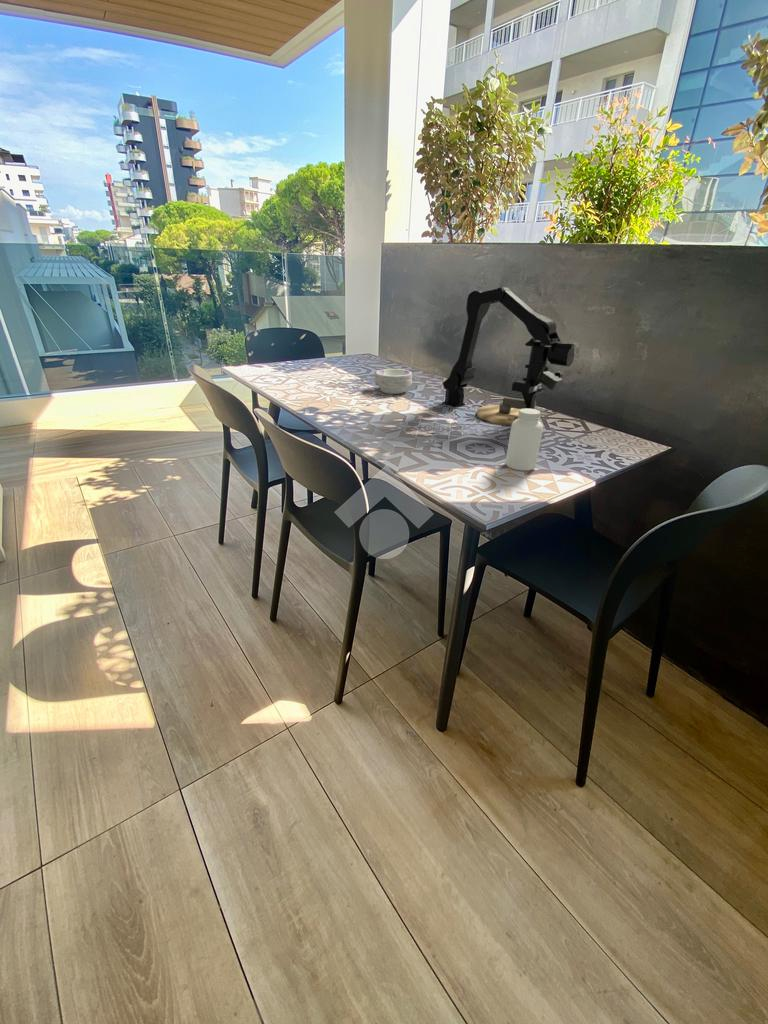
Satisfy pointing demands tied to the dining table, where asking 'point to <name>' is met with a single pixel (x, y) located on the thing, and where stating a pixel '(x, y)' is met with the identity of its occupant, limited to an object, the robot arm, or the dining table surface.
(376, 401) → the dining table surface
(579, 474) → the dining table surface
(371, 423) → the dining table surface
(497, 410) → the dial board
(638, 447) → the dining table surface
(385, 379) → the white stone bowl
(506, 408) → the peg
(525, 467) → the pill bottle
